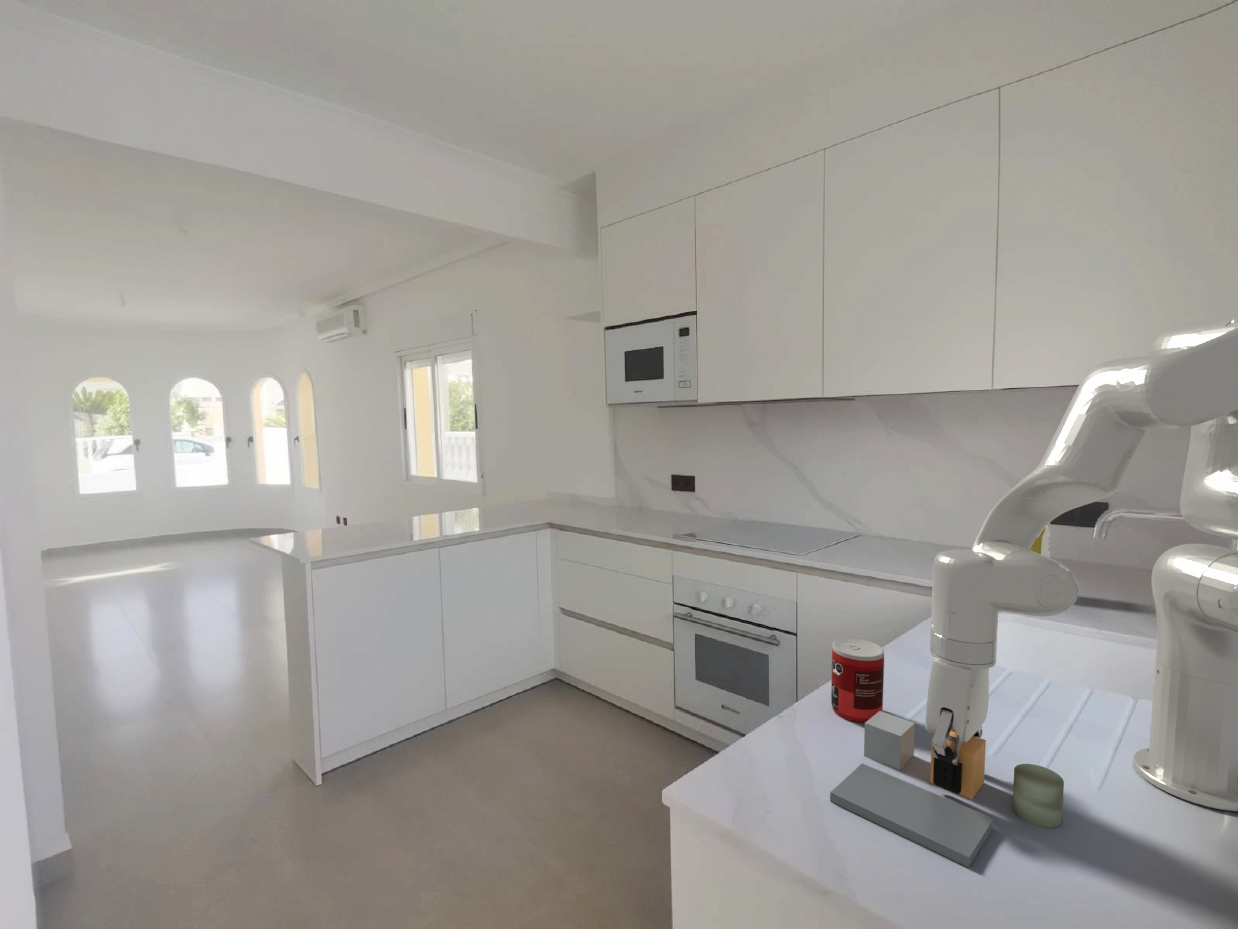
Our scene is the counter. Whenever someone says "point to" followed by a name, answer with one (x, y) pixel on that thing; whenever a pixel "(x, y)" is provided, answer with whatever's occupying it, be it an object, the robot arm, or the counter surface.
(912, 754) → the grey block
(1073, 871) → the counter surface
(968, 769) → the orange block
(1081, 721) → the counter surface
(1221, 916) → the counter surface
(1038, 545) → the juice carton
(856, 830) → the counter surface
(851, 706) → the canned food
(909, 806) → the slate board
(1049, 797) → the sage cylinder
